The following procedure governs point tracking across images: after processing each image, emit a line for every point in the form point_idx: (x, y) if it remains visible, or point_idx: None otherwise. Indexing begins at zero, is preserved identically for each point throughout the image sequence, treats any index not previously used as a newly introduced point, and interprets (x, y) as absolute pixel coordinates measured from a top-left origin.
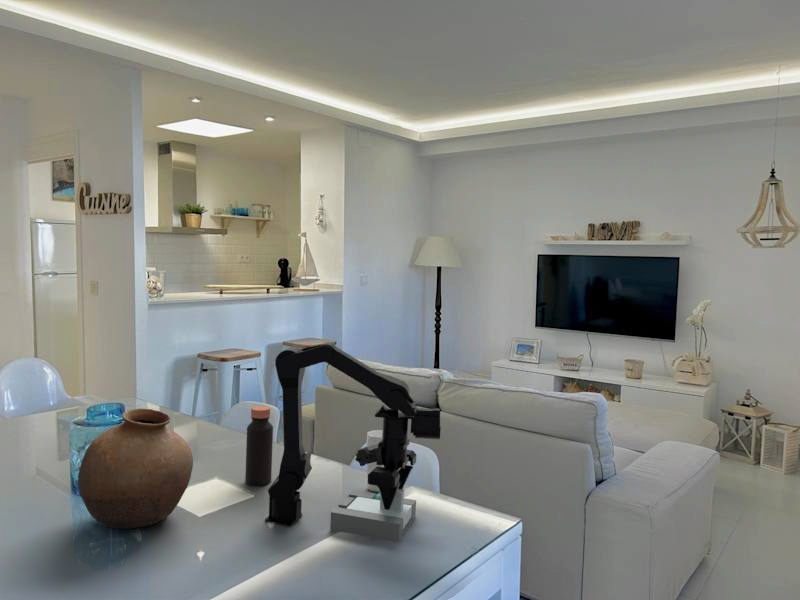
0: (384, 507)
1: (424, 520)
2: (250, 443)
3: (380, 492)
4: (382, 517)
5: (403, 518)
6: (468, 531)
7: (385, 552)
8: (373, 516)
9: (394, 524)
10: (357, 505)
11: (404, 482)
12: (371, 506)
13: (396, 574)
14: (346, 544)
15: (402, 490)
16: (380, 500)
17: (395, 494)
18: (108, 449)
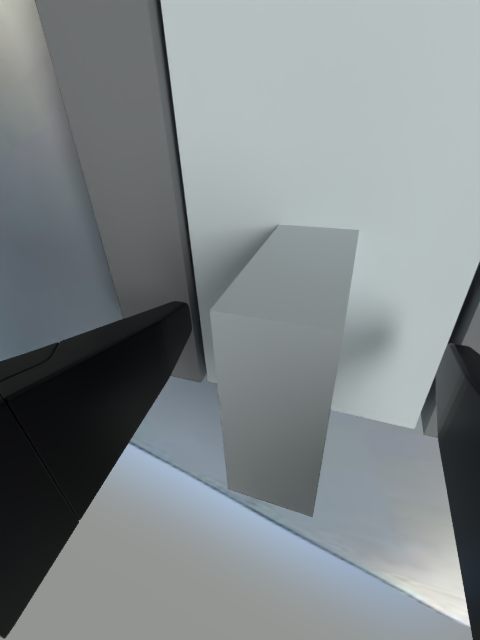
0: (164, 306)
1: None
2: None
3: (4, 360)
4: (153, 277)
5: (212, 380)
6: (361, 517)
7: (92, 284)
8: (133, 216)
9: None
10: None
11: (468, 590)
12: (302, 129)
13: (24, 331)
14: (34, 88)
15: (291, 503)
16: (257, 255)
17: (107, 460)
18: None
